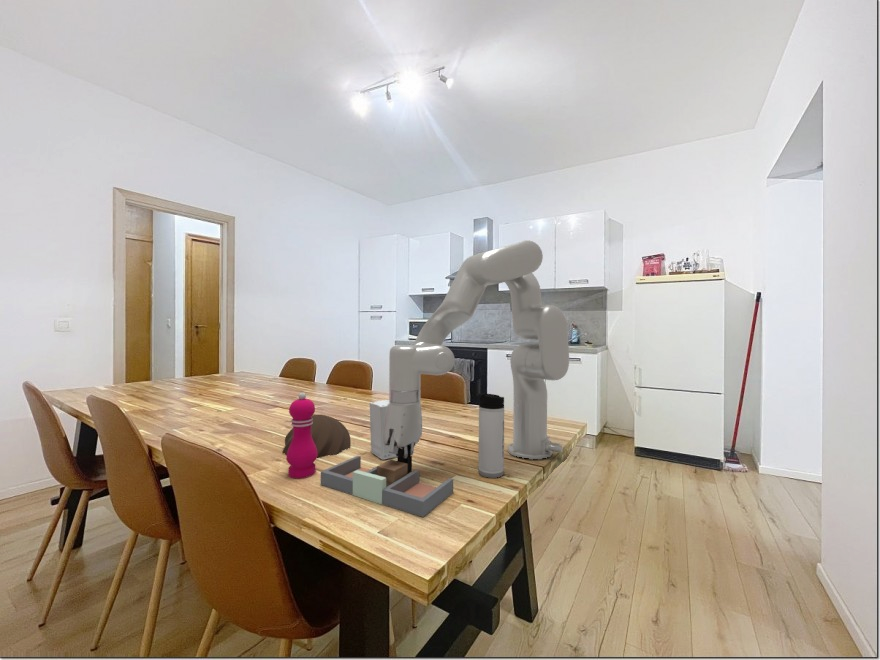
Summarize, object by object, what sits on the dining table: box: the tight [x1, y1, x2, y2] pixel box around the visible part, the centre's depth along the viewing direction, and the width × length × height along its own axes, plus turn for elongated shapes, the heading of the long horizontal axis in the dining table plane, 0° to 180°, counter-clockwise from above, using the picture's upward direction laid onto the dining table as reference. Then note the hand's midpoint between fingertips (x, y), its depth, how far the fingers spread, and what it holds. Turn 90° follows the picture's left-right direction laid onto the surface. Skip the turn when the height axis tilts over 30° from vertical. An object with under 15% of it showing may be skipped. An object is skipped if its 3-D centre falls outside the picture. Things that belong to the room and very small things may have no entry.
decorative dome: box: [282, 414, 351, 459], centre depth 110 cm, size 19×20×10 cm
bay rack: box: [320, 455, 454, 518], centre depth 82 cm, size 28×12×5 cm, turn 60°
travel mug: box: [477, 392, 505, 479], centre depth 91 cm, size 6×7×20 cm
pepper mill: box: [285, 392, 318, 479], centre depth 90 cm, size 7×7×20 cm
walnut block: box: [376, 458, 408, 487], centre depth 84 cm, size 5×5×4 cm
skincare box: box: [369, 399, 397, 461], centre depth 104 cm, size 8×6×15 cm
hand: (404, 471), depth 89 cm, fingers closed
